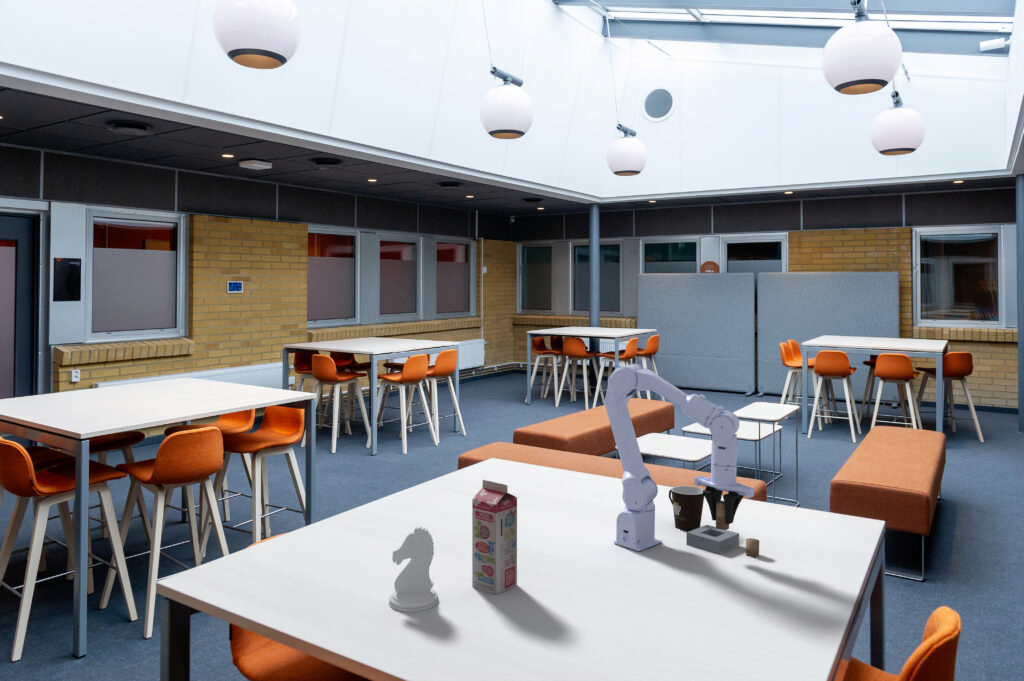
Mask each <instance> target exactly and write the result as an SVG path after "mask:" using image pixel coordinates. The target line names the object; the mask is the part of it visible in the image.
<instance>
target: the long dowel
mask: <svg viewBox="0 0 1024 681" xmlns="http://www.w3.org/2000/svg"><path fill="white" fill-rule="evenodd" d="M715 527H716V528H717V529H722V530H729V529H730V524H726V522H725V503H724V500H721V501H716V520H715Z"/></svg>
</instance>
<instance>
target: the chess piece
mask: <svg viewBox="0 0 1024 681" xmlns="http://www.w3.org/2000/svg"><path fill="white" fill-rule="evenodd" d="M434 544H435V543H434V540H433V538H432V534H431V533H430V531H429V530H428V528H426V527H422V526H415V527H414V530H413V531H411V532H409V533H408V534H407V535H406V537H405V539H404V540H403V542H402V544H401V545H400V546H399V548H397V549H394V550H393V551H392V562H393V563H394V564H395V563H396V565H397V566H400V565H401V564H402V562H403V561H404V560H407V559H409V561H408V562H407V563H406V565H405V566H404V567H403V568H402V570H401V571H400V572H399V573H398V575H397V576H396V578H395V580H394V583H393V584H394V590H393V591H392V592H391V594H390V595H389V597H388V605H389V607H390V608H391V609H394V610H396V611H399V612H404V613H405V612H406V613H415V612H422V611H427V610H428V609H432V608H434V607H435V606H437V604H438V602H439V596H438V593H437V591H436V590H435V589H434V588H433V587H434V581H432V579H431V577H430V566H431V565H432V562H433V558H434V555H435V549H434V548H435V547H434Z"/></svg>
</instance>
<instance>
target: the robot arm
mask: <svg viewBox="0 0 1024 681" xmlns="http://www.w3.org/2000/svg"><path fill="white" fill-rule="evenodd" d="M607 383H608V386H607V389H606V393H605V397H604V406H605V410H606V413H607V417H608V420H609V424H610V428H611V430H612V434H613V438H614V441H615V446H616V448H617V452H618V456H619V459H620V460H619V461H620V464H621V468H622V471H623V474H622V478H621V479H622V480H621V483H622V488H623V489H622V490H623V491H622V495H621V496H622V501H623V503H624V504H625V506H624V507H625V508H624V510H623V511H621V512H619V514H618V515H617V517H616V531H615V532H616V537H615V538H616V540H614V541H613V544H615V545H618V546H622V547H625V548H629V549H631V550H634V551H637V552H641V551H643V550H646V549H648V548H651V547H654V546H656V545H659V544H661V543H662V542H663V540H661V539H658V538H655V536H656V535H655V534H656V527H655V526H656V525H655V524H656V504H655V503H654V499H656V498H657V496H658V492H659V490H658V489H659V488H658V484H657V483H656V482H655V480H654V479H653V478H652V475H651V473H650V470H649V469H648V468H647V467H646V466H645V464H644V461H643V457H642V453H641V449H640V446H639V442H638V439H637V436H636V435H637V434H636V433H635V429H634V425H633V422H632V418H631V414H630V411H629V407H628V404H629V402H630V400H631V399H632V397H633V396H634V394H635V393H636V392H641V391H642V392H643V391H645V392H648V391H649V392H650V391H651V392H654V393H655V394H657V395H659V396H660V397H662V398H664V399H666V400H668V401H669V402H671V403H674V404H675V405H677V406H679V407H680V409H681V412H682V414H683V415H684V416H686V417H687V418H688V419H691V420H692V421H694V422H695V423H697V424H699V425H700V426H702V427H704V428H705V429H708V430H709V432H710V434H711V435H712V436H711V437H712V438H711V440H712V441H711V450H710V451H711V452H710V453H711V454H710V455H711V457H710V458H711V459H710V477H709V476H708V477H707V476H700V475H699V476H695V477H694V480H693V481H694V483H693V484H694V486H695V487H699V486H701V487H704V488H705V489H704V490H703V495H704V499H705V501H706V503H707V504H708V505H707V506H708V508H709V511H710V515H711V520H712V521H715V522H716V501H722V500H723V501H724V503H725V522H726V524H729V525H730V524H733V523H734V520H735V516H736V512H737V510H738V507H739V505H740V503H741V502H742V500H743V499H744V497H745V498H748V499H750V498H753V497H754V496H755V487H751V486H747V485H746V484H742V483H739V482H737V470H738V468H737V464H738V463H737V462H738V461H737V460H738V445H737V444H738V443H737V442H738V438H737V437H738V434H737V432H738V430H739V428H740V419H739V417H738V416H737V415H736V414H735V413H734V412H733V411H732V410H724V409H725V408H724V406H722V405H719V406H718V405H716V404H714V403H713V402H711V401H709V400H707V398H706V395H704V394H702V393H701V394H697V393H693V394H687V393H685V392H684V391H682V390H681V389H680V388H678V387H676V386H675V385H673V384H671V383H670V382H669V381H667V380H666V379H665V378H662V377H661V376H659V375H658V374H656V373H655V372H654V371H652V370H651V369H648V368H644V366H642V365H641V364H638V363H631V364H628V365H623V366H619V367H617V368H615V369H614V370H613V371H612V373H611V374H610V375H609V377H608V378H607ZM723 492H727V493H725V494H723ZM722 498H723V499H722Z"/></svg>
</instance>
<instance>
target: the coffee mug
mask: <svg viewBox="0 0 1024 681" xmlns="http://www.w3.org/2000/svg"><path fill="white" fill-rule="evenodd" d="M703 490H705V489H703V488H702V487H699V486H693V485H692V486H691V485H677V486H673V487H672V488H670V489H669V490H668V500H669V501H670V503H671V505H672V509H673V511H672V512H673V519H674V527H675V529H677V528H678V529H677V530H679V529H680V531H682V530H685V531H684V532H689V531H692V530H695V529H697V528H700V527H701V524H702V516H703V509H704V508H703V507H704V501H705V496H704V495H703Z"/></svg>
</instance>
